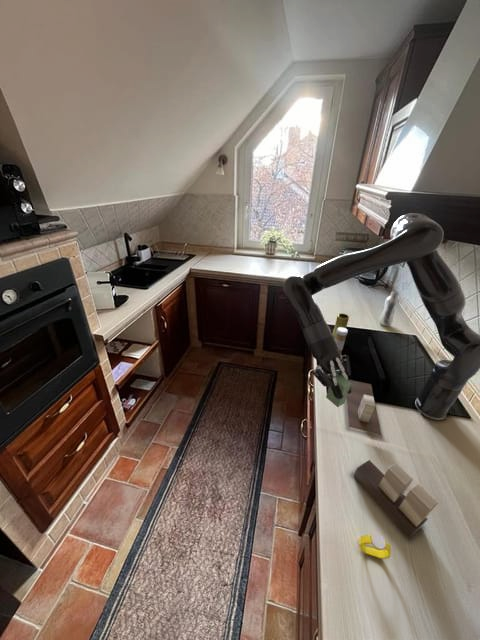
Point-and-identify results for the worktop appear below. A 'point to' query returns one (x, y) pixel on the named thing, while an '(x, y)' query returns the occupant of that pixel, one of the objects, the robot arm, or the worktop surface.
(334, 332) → the vase
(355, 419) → the near board
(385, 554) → the watch
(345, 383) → the green flat piece
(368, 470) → the stand
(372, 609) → the worktop surface
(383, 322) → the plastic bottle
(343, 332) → the sprinkles bottle
